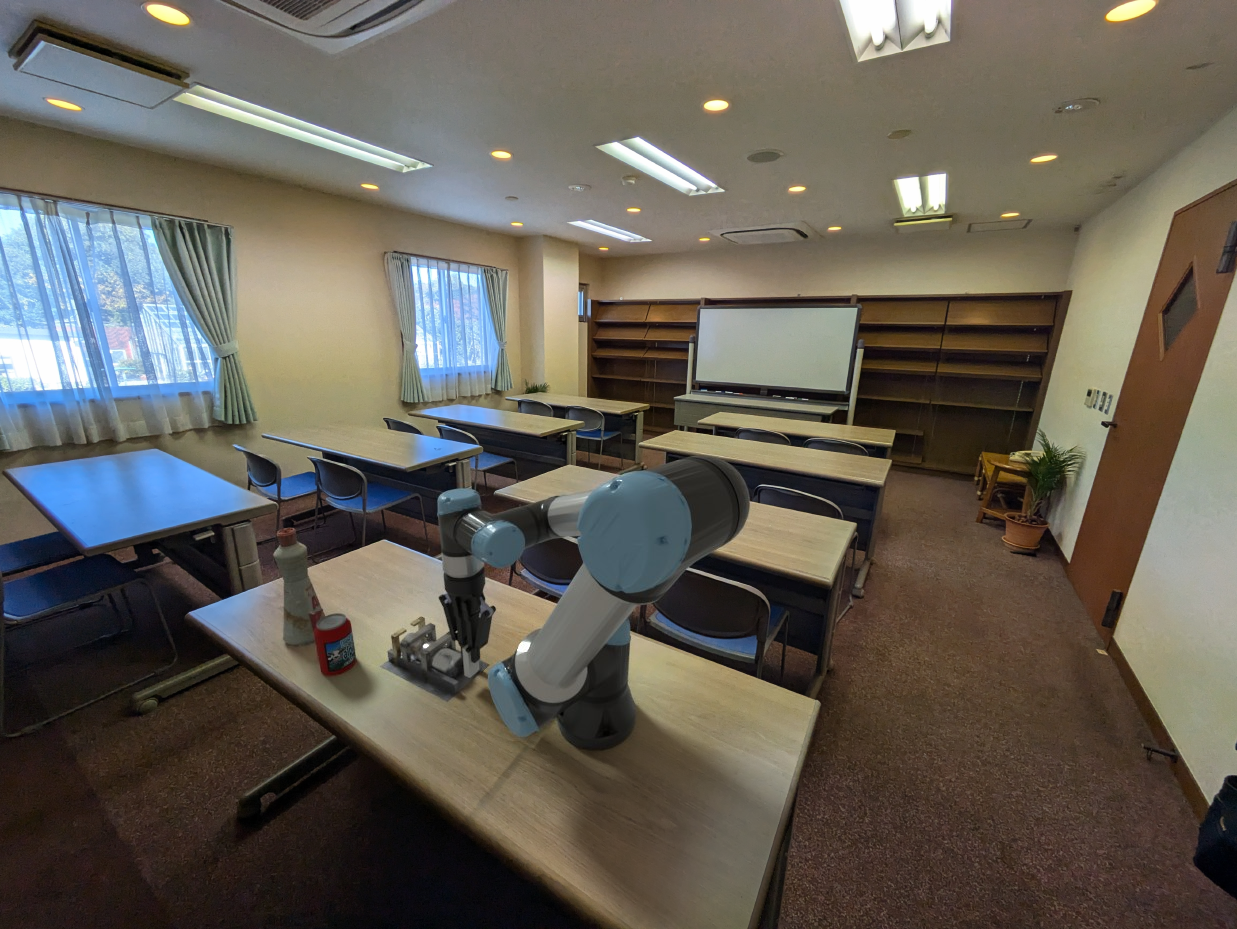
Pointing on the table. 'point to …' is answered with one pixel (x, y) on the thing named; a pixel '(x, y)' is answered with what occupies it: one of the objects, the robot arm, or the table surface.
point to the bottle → (297, 590)
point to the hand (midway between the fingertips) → (472, 672)
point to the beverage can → (334, 644)
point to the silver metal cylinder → (437, 657)
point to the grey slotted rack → (426, 662)
